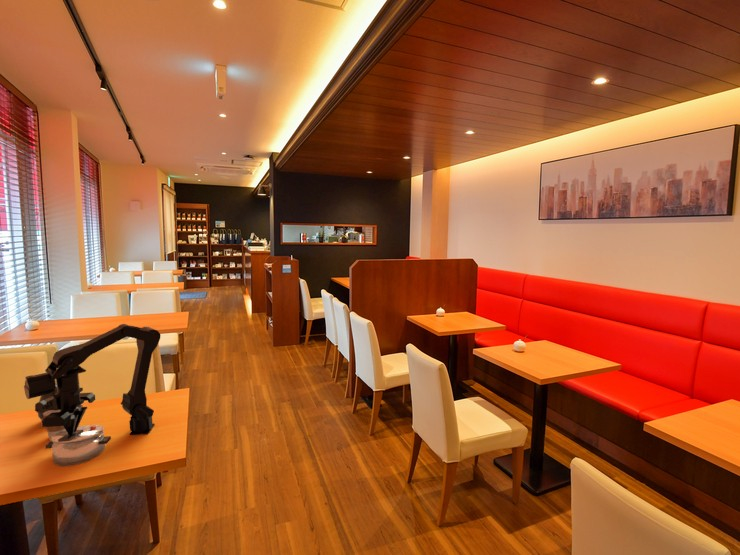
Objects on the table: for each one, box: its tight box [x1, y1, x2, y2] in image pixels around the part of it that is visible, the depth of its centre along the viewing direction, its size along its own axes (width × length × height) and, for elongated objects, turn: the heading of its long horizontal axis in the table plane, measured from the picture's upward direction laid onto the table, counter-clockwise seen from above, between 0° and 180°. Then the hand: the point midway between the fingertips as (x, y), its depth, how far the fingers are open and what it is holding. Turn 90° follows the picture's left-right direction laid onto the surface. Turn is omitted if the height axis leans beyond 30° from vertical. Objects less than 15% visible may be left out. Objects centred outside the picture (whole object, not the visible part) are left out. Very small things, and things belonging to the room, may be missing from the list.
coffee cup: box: [43, 396, 66, 441], centre depth 138 cm, size 8×8×15 cm
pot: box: [44, 431, 112, 467], centre depth 129 cm, size 18×14×5 cm
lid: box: [50, 424, 105, 444], centre depth 128 cm, size 14×15×2 cm
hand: (72, 433), depth 126 cm, fingers closed
